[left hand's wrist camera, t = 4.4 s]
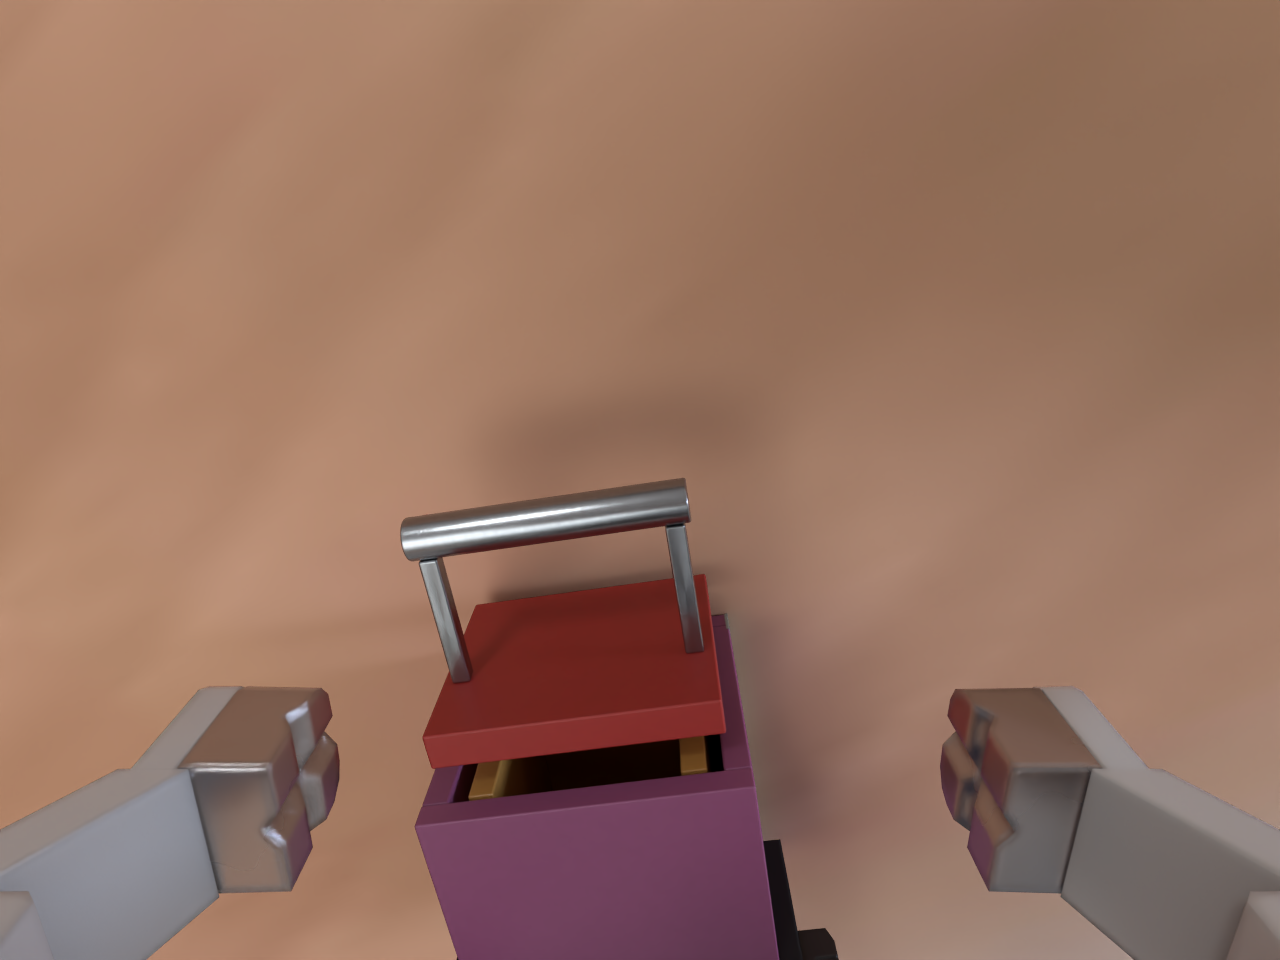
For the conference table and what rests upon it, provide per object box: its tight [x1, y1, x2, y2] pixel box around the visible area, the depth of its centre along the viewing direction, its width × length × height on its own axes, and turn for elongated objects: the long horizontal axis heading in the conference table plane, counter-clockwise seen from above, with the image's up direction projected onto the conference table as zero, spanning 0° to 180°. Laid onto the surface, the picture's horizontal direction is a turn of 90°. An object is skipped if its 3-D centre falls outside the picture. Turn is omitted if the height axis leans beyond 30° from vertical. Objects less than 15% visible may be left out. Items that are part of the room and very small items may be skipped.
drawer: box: [400, 478, 726, 801], centre depth 28 cm, size 17×9×8 cm, turn 9°
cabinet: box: [415, 614, 779, 960], centre depth 30 cm, size 13×10×10 cm
